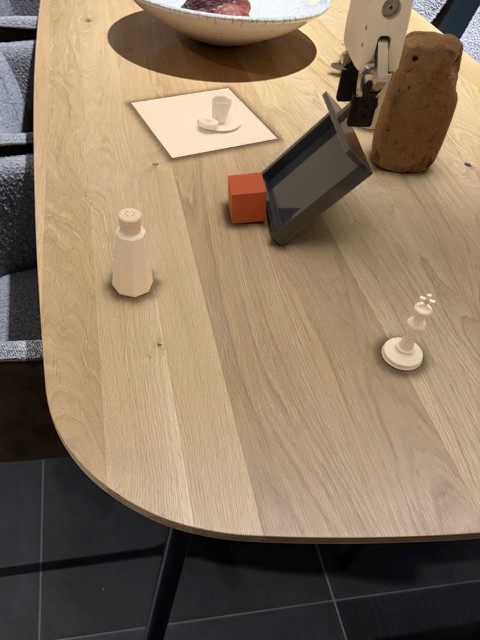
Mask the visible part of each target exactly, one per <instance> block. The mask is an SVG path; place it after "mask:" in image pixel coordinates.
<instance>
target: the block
mask: <svg viewBox="0 0 480 640" xmlns="http://www.w3.org/2000/svg"><path fill="white" fill-rule="evenodd" d="M464 47H465V46H464V44H463V42H462V41H461V39H460V38H458V37H457V36H456V35H455V34H452V33H441V32H437V31H430V30H429V31H425V30H414V31H413V30H412V31H409V32H408V33H406V38H405V42H404V46H403V50H402V54H401V58H400V62H399V66H398V69H397V70H396V72H394V73H392V75H391V78H390V81H389V84H388V87H387V90H386V94H385V97H384V100H383V103H382V106H381V109H380V113H379V116H378V119H377V122H376V126H375V129H373V130H374V131H373V135H372V142H371V151H370V152H371V154H370V156H371V160H372V161H373V163H375V164H376V165H377V166H378V167H380V168H381V169H384V170H387V171H389V172H396V173H406V172H410V173H416V172H417V173H419V172H422V171H424V170H427V169H430V167H431V166H432V165H433V164H434V163H435V161H436V159H437V157H438V156H439V153H440V151H441V149H442V146H443V145H444V142H445V140H446V136H447V134H448V132H449V128H450V126H451V123H452V120H453V118H454V114H455V112H456V109H457V105H458V102H459V101H458V100H459V96H458V91H457V84H458V80H459V72H460V71H461V64H462V59H463V58H462V57H463V53H464Z"/></svg>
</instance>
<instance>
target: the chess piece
mask: <svg viewBox="0 0 480 640" xmlns="http://www.w3.org/2000/svg"><path fill="white" fill-rule="evenodd" d="M432 296H433V294H432V293H429V292H428V293H427V295H426V296H423V295H420V296H419V298H418V302H416V303H415V304H414V306H413V315H411V316H409V317H408V319H406V323H407V326H408V329H407V331H406V332H405V334H404V335H403V337H399V336H398V337H391V338H389V339H388V340H386V341H385V343H384V344H383V346H382V347H381V356H382V358H383V360H384V361H385V362H386V363H387V364H388V365H389V366H391V367H392V368H395V369H397V370H400V371H414V370H416V369H417V368H419V367H420V366H421V364H422V362H423V359H424V353H423V350H422V348H421V347H420V346H419V345H418V344H417V343H416V339H417V336H418V333H419V331H422V330H425V329H426V328H427V327H426V326H427V322H426V319H427V318H428V317H429V316H431V314H432V313H433V307H432V306H435V304H436V300H435V299H432Z"/></svg>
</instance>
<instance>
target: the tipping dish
mask: <svg viewBox="0 0 480 640" xmlns="http://www.w3.org/2000/svg"><path fill="white" fill-rule="evenodd" d="M357 81H358V80H357ZM357 81H356V84H355V86H356V89H357ZM366 82H367V79H366V78H365V81H364V85H365V83H366ZM321 97H322V99H323V101H324V103H325V106H326V109H327V111H328V112H326V114H325V115H324V116H322V117H321V118H320V119H319V120H318V121H317V122H316V123H314V125H312V126H311V128H309V129H308V130H307V131H306V132H305V133H303V134H302V135H301V136H300V137H299V138H298V139H297V140H296V141H295V142H293V144H291V145H290V146H289V147H288V148H287V149H285V150H284V151H283V152H282V153H281V154H280V155H279V156H278V157H277V158H275V160H273V161H272V162H271V163H270V164H269V165H268V166H266V168H264V170H262V171H261V172H260V173H262V176H263V180H264V184H265V188H266V191H267V195H266V212H267V215H268V220H269V224H270V228H271V232H270V233H269V234H270V238H271V239H272V240H274V241H275V242H276V243H278V244H279V245H280V246H283V245H285V244H286V243H287V242H288V241H290V240H291V239H292V238H293V237H294V236H296V235H297V234H298V233H300V232H301V231H302V230H304V229H305V228H306V227H308V226H309V225H310V224H311V223H312V222H314V221H315V220H316V219H317V218H319V217H320V216H321V215H322V214H324V213H325V212H326V211H328V210H329V209H331V207H333V206H334V205H335V204H336V203H338V202H339V201H340V200H342V199H343V198H344V197H345V196H346V195H348V194H349V193H350V192H352V191H353V190H354V189H356V188H357V187H358V186H360V185H361V184H362V183H363V182H365V181H366V180H367V179H368V178H370V177H371V176H372V175H374V171H373V170H372V168H371V165H370V163H369V161H368V159H367V156H366V153H365V152H364V149H363V147H362V145H361V143H360V140H359V138H358V136H357V134H356V131H355V129H354V127H348V126H347V123H346V121H347V117H348V113H349V109H350V104H351V102H347V104H346V105H345V106H343V108H342V106H340V104H339V103H337V102H338V101H337V100H336V99H334V98H333V96H332V95H330V93H329V92H328V91H327V90H326V91H324V92H323V93H322V95H321ZM377 107H378V102H377V106H376V108H377Z"/></svg>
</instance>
